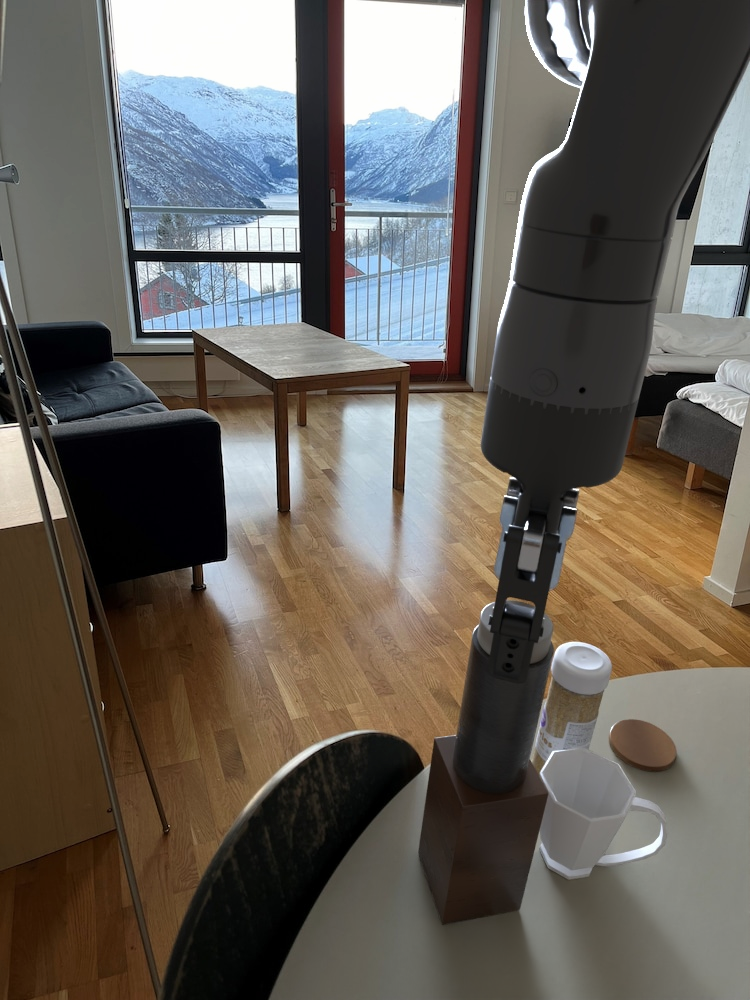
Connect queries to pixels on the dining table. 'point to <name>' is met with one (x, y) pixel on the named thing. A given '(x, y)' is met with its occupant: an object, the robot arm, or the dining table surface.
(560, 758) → the cup
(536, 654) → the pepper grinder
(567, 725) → the sprinkles bottle
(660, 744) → the coaster
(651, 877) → the dining table surface
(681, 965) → the dining table surface
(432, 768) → the walnut stand
